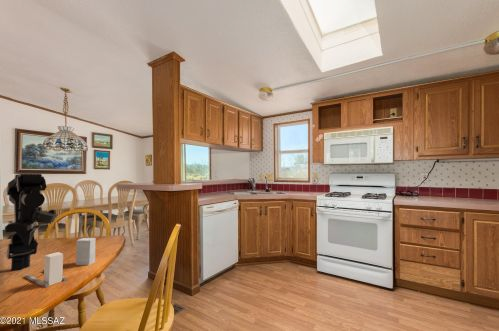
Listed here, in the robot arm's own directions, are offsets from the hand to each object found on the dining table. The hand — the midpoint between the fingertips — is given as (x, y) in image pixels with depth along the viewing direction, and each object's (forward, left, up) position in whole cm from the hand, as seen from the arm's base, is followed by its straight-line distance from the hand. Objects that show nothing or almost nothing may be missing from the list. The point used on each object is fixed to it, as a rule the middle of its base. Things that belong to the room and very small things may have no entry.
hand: (27, 245), depth 91 cm
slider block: (+10, +12, -12) cm, 19 cm away
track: (+6, +8, -13) cm, 16 cm away
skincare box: (-7, +18, -13) cm, 23 cm away
